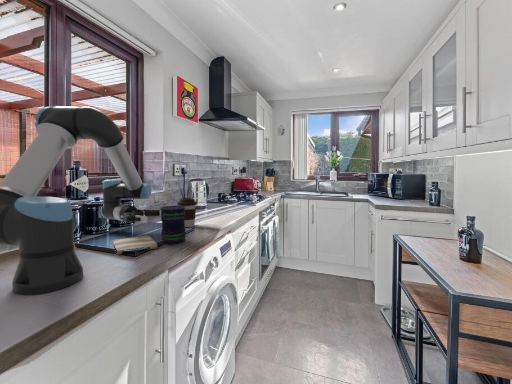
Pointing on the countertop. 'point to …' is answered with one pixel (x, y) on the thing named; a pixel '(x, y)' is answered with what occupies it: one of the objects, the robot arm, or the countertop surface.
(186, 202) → the coffee cup
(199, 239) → the countertop surface
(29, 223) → the robot arm
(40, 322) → the countertop surface
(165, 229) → the storage jar
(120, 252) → the birch board
